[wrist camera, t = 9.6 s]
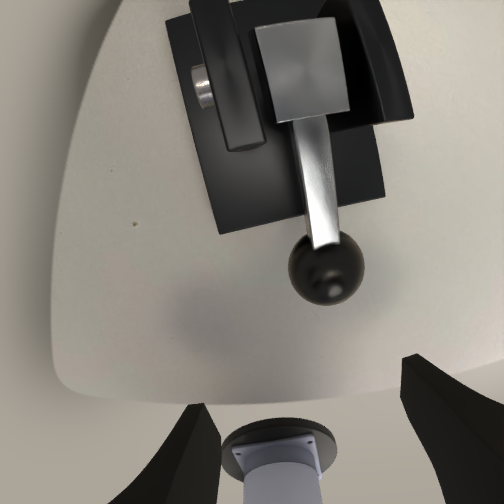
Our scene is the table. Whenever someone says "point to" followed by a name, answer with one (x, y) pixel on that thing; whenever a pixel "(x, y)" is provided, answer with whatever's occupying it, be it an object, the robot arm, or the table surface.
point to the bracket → (259, 119)
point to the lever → (311, 147)
